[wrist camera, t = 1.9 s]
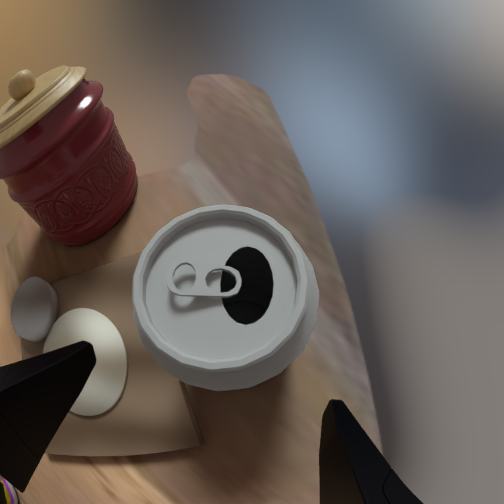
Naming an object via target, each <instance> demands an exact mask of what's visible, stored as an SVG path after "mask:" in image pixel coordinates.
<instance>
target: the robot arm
mask: <svg viewBox="0 0 504 504" xmlns="http://www.w3.org/2000/svg"><path fill="white" fill-rule="evenodd" d="M95 365H96V355H95V351H94V348H93V345H92V344H91V343H89V342H87V341H84V340H83V341H79V342H76V343H74V344H71V345H68V346H65V347H62V348H59V349H56V350H53V351H50V352H46V353H43V354H40V355H37V356H34V357H31V358H28V359H25V360H22V361H18V362H15V363H14V364H13V363H12V364H9V365H5V366H2V367H0V504H7V500H6V496H5V491H4V486H3V483H2V482H1V480H2V479H3V478H4V479H5V480H7V481H8V482H9V483H10V484H11V485H13V486H14V487H15V488H16V489H18V490H19V491H20V492H22V493H23V492H24V491H25V489H26V487H27V485H28V483H29V481H30V479H31V477H32V475H33V473H34V471H35V469H36V467H37V466H38V464H39V462H40V460H41V458H42V456H43V454H44V453H45V451H46V449H47V447H48V446H49V444H50V442H51V440H52V439H53V437H54V435H55V434H56V432H57V430H58V429H59V427H60V425H61V424H62V422H63V420H64V419H65V417H66V416H67V414H68V412H69V411H70V409H71V408H72V406H73V404H74V403H75V401H76V400H77V398H78V397H79V395H80V393H81V392H82V390H83V388H84V386H85V384H86V382H87V380H88V378H89V376H90V374H91V372H92V370H93V368H94V367H95ZM319 476H320V504H423V503H422V502H421V501H420V500H419V499H418V498H417V497H416V496H415V495H414V494H413V493H412V492H411V491H410V490H409V489H408V488H407V486H406V485H405V484H404V483H403V482H402V480H401V479H400V478H399V477H398V475H397V474H396V473H395V471H394V470H393V469H391V466H390V465H389V464H388V462H387V461H386V459H385V458H384V457H383V455H382V454H381V453H380V451H379V450H378V449H377V447H376V446H375V445H374V443H373V442H372V441H371V439H370V438H369V436H368V435H367V434H366V432H365V431H364V430H363V428H362V427H361V425H360V424H359V423H358V421H357V420H356V419H355V417H354V416H353V414H352V413H351V412H350V410H349V409H348V408H347V406H346V405H345V403H344V402H343V401H342V400H334V399H332V400H330V401H329V403H328V405H327V407H326V409H325V411H324V413H323V417H322V427H321V439H320V450H319Z"/></svg>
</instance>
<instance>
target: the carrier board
mask: <svg viewBox="0 0 504 504" xmlns="http://www.w3.org/2000/svg"><path fill="white" fill-rule="evenodd" d="M141 253H142V252H139V253H136V254H133V255H130V256H128V257H125V258H122V259H119V260H116V261H113V262H110V263H107V264H104V265H101V266H98V267H96V268H93V269H90V270H87V271H84V272H81V273H79V274H76V275H73V276H70V277H68V278H65V279H62V280H59V281H57V282H54V283H51V284H49V283H47V282H46V281H44V280H43V279H41V278H40V277H30V278H28V279H27V280H25V281H24V282H23V283H22V284H21V285H20V287H19V288H18V290H17V291H16V294H15V296H14V299H13V302H12V308H11V320H12V324H13V328H14V330H15V331H16V333H17V334H18V335H19V336H20V337H21V344H22V357H23V360H25V359H28V358H31V357H34V356H37V355H40V354H43V353H46V352H50V351H53V350H56V349H59V348H62V347H65V346H68V345H71V344H74V343H76V342H79V341H83V340H84V341H87V342H89V343H91V344H92V345H93V348H94V351H95V355H96V365H95V367H94V368H93V370H92V372H91V374H90V376H89V378H88V380H87V382H86V384H85V386H84V388H83V390H82V392H81V393H80V395H79V397H78V398H77V400H76V401H75V403H74V404H73V406H72V408H71V409H70V411H69V412H68V414H67V416H66V417H65V419H64V420H63V422H62V424H61V425H60V427H59V429H58V430H57V432H56V434H55V435H54V437H53V439H52V440H51V442H50V444H49V446H48V447H47V449H46V451H45V453H47V454H57V455H71V456H126V455H140V454H151V453H160V452H168V451H175V450H181V449H187V448H193V447H198V446H201V445H202V444H203V443H204V441H203V438H202V435H201V433H200V430H199V427H198V424H197V421H196V419H195V416H194V413H193V410H192V407H191V404H190V401H189V397H188V394H187V391H186V388H185V385H184V382H182V381H181V380H179V379H177V378H176V377H174V376H173V375H171V374H170V373H168V372H167V371H165V370H164V369H162V368H161V367H159V365H158V364H157V363H156V361H155V360H154V359H153V358H152V356H151V355H150V354H149V352H148V351H147V350H146V348H145V347H144V346H143V344H142V342H141V339H140V336H139V333H138V330H137V327H136V324H135V321H134V317H133V304H132V286H133V275H134V272H135V269H136V266H137V263H138V261H139V258H140V255H141Z"/></svg>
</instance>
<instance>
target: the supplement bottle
mask: <svg viewBox="0 0 504 504" xmlns="http://www.w3.org/2000/svg"><path fill="white" fill-rule="evenodd" d="M1 482H2V483H3V486H4V491H5V496H6V500H7V504H18V499H17V495H16V492H15V489H14V487H13V485H11V484H10V483H9V482H8V481H7V480H5V479H4V478H3V479H2V480H1Z"/></svg>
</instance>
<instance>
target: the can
mask: <svg viewBox="0 0 504 504" xmlns="http://www.w3.org/2000/svg"><path fill="white" fill-rule="evenodd" d="M318 302H319V290H318V286H317V282H316V278H315V274H314V270H313V266H312V264H311V263H310V261H309V260H308V258H307V256H306V255H305V253H304V252H303V250H302V249H301V247H300V246H299V244H298V243H297V242H296V241H295V240H294V238H293V237H292V235H291V233H290V232H289V231H287V230H286V229H285V228H284V227H283V226H281V225H280V224H279V223H278V222H276V221H275V220H274V219H273V218H271V217H270V216H268V215H265V214H263V213H260V212H258V211H256V210H253V209H251V208H248V207H241V206H233V205H224V204H222V205H215V206H208V207H201V208H197V209H195V210H192V211H190V212H188V213H185V214H183V215H181V216H178V217H176V218H175V219H173V220H172V221H171V222H169V223H168V224H167V225H165V226H164V227H163V228H162V229H160V230H159V231H158V232H157V233H156V234H155V235H154V236H153V238H152V239H151V240H150V242H149V243H148V244H147V246H146V247H145V249H144V250H143V251H142V253H141V255H140V258H139V261H138V263H137V266H136V269H135V272H134V275H133V286H132V304H133V317H134V321H135V324H136V327H137V330H138V333H139V336H140V339H141V342H142V344H143V346H144V347H145V348H146V350H147V351H148V352H149V354H150V355H151V356H152V358H153V359H154V360H155V361H156V363H157V364H158V365H159V367H161V368H162V369H164V370H165V371H167V372H168V373H170V374H171V375H173V376H174V377H176V378H177V379H179V380H181V381H182V382H184V383H185V384H189V385H193V386H197V387H201V388H205V389H209V390H214V391H226V390H236V389H244V388H251V387H253V386H255V385H257V384H259V383H262V382H264V381H266V380H268V379H270V378H272V377H274V376H276V375H278V374H280V373H281V372H282V371H283V370H284V369H285V368H286V367H287V366H288V365H289V364H290V363H291V362H292V361H293V360H294V359H295V358H296V357H297V356H298V355H299V354H300V353H301V352H302V351H303V350H304V348H305V346H306V344H307V342H308V339H309V337H310V335H311V333H312V331H313V329H314V327H315V324H316V322H317V312H318Z"/></svg>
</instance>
